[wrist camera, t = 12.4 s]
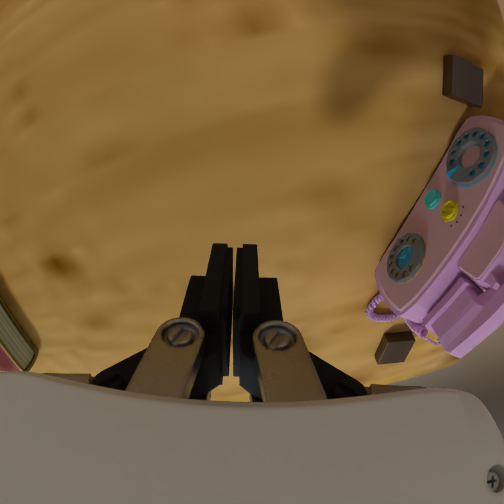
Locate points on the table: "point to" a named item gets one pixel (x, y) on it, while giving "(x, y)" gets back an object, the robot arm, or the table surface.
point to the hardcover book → (14, 344)
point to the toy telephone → (452, 246)
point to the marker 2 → (462, 81)
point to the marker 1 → (394, 347)
